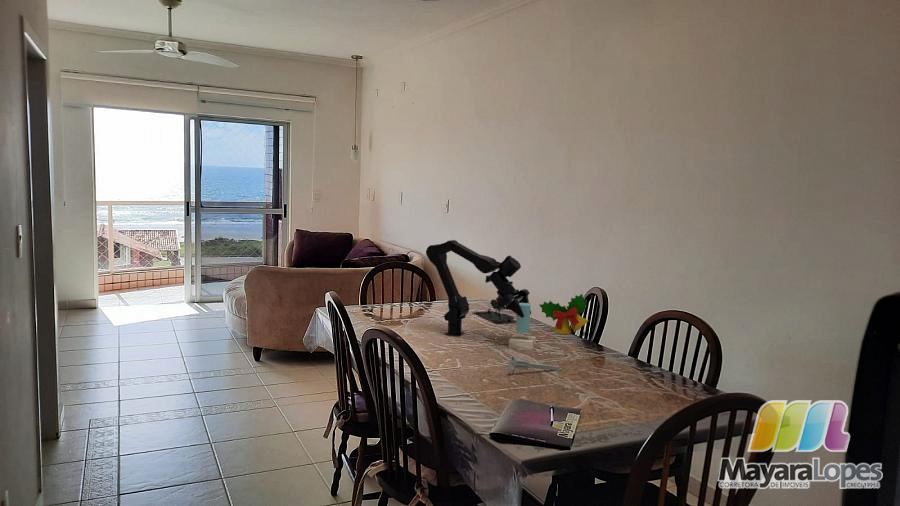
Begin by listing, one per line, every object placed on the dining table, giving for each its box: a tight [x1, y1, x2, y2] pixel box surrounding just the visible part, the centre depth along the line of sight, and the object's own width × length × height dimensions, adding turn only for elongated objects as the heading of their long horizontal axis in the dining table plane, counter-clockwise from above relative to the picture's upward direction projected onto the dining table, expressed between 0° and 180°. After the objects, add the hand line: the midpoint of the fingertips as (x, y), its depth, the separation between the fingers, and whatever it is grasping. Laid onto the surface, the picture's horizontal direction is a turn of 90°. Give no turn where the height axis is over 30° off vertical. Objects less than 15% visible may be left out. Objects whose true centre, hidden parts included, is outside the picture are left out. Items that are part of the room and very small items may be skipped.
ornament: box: [538, 293, 589, 335], centre depth 271 cm, size 22×9×16 cm, turn 62°
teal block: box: [515, 302, 532, 335], centre depth 246 cm, size 5×5×11 cm
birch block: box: [508, 334, 537, 351], centre depth 247 cm, size 9×9×4 cm
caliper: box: [507, 355, 564, 375], centre depth 214 cm, size 21×1×6 cm, turn 111°
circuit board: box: [471, 307, 517, 325], centre depth 297 cm, size 25×14×3 cm, turn 25°
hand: (526, 315), depth 245 cm, fingers closed on teal block, 6 cm apart
